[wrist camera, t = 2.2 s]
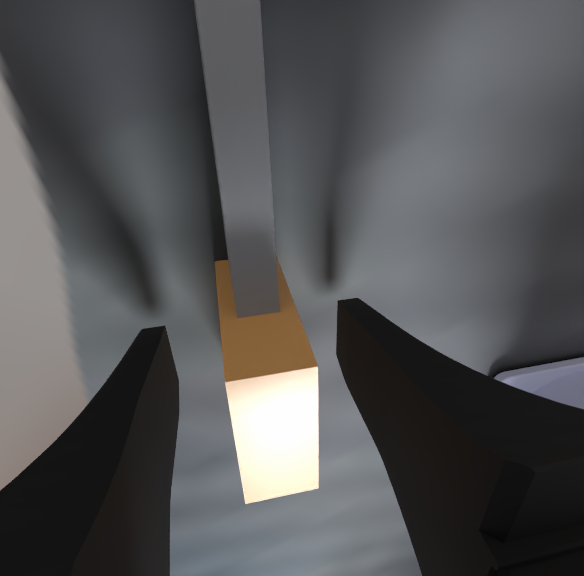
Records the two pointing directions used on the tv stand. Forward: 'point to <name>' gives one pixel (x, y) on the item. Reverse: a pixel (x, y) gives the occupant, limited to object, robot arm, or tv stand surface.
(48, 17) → the tv stand surface
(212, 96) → the grey handled mallet
